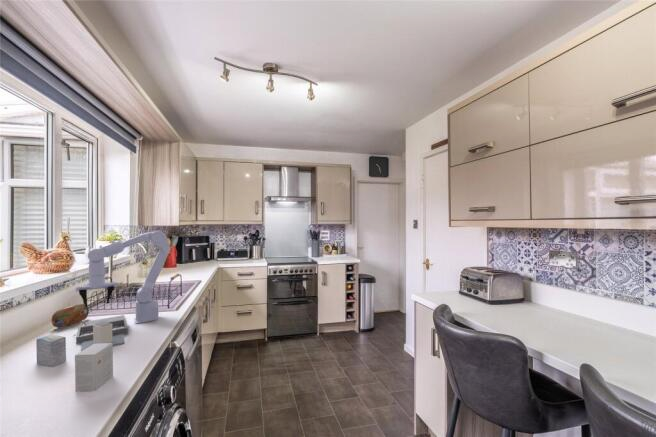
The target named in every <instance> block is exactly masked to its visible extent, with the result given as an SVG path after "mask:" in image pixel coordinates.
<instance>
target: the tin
mask: <svg viewBox="0 0 656 437" xmlns="http://www.w3.org/2000/svg"><path fill="white" fill-rule="evenodd" d="M89 310H90V309H89V307H88V306H87V307H85V303H84V304H83V303H80V304H75V305H71V306H68V307H65V308H61V309H58V310H56V311H55V312H54V313H53V314H52V316H51V324H52V326H53V327H54V328H61V329H63V328H68V327H70V326H72V325H76V324H80V323H81V322H82V320H85V321H86V319H87V317H88V316H89V314H90V313H89V312H90V311H89Z"/></svg>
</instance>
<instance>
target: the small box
mask: <svg viewBox="0 0 656 437" xmlns="http://www.w3.org/2000/svg"><path fill="white" fill-rule="evenodd" d="M113 349H114V346H113V343H99V344H93V345H91V346H90V347H88V348H86V349H85V350H83V351H81V350H80V351H79V352H78V353H77V354H75V355H74V376H75V378H74V384H75V386H74V387H75V390H74V391H75V392H76V393H77V392H78V391H80V392H94V391H93V390H95V391H97V390H98V389H99V388H100V387H102V386H103V385H104V384H105V383H106V382H108V381H109V380H110V379H112V377H113V376H114V356H113V354H114V350H113Z"/></svg>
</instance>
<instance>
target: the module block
mask: <svg viewBox="0 0 656 437" xmlns="http://www.w3.org/2000/svg"><path fill="white" fill-rule="evenodd" d="M112 330H113V327H112V324H111V323H108V322H105V321H103V322H99V323H95V324H93V331H92V334H93V342H94V343H96V344H99V343H109V342H112Z"/></svg>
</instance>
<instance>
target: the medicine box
mask: <svg viewBox="0 0 656 437" xmlns="http://www.w3.org/2000/svg"><path fill="white" fill-rule="evenodd" d="M66 342H67V340H66V336H61V335H56V334H48V335H44V336H41V337H39V338H36V343H35V345H36V364H37V365H42V366H46V367H50V368H53V367H56V366H58V365H60V364H62V363H63V364H64V363H66V361H67V346H66V345H67V343H66Z"/></svg>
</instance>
